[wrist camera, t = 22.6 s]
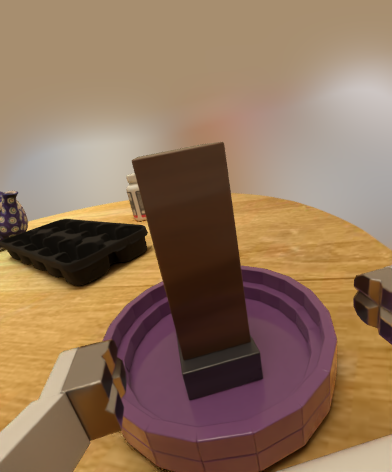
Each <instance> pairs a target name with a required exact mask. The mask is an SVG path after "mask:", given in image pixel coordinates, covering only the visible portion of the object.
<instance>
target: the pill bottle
mask: <svg viewBox="0 0 392 472" xmlns="http://www.w3.org/2000/svg"><path fill="white" fill-rule="evenodd" d="M127 181H128V183H129V186H128V187H127V194H128V197H129V201H130V204H131V208H132V212H133V215H134V219H135V220H137V221H143V220H147V218H146V214H145V211H144V207H143V203H142V199H141V195H140V191H139V187H138V184H137V180H136V176H135V173H134V174H130V175H127Z"/></svg>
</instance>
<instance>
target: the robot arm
mask: <svg viewBox="0 0 392 472" xmlns="http://www.w3.org/2000/svg"><path fill="white" fill-rule="evenodd" d="M354 287H355V288H356V289H357V290H358V291H357V293H356V295H355V296H354V308H355V311H356V313H357V315H358V316H359V317H360V319H361V320H362V321H363V322H365V323H366V324H367V325H369V326H372V327H375V328H378V332H379V335H381V336H382V337H383V338H384V339H385V340H387V341H388V342H389V343H390V344H392V265H391V266H387V267H384V268H382V269H379V270H375V271H371V272H367V273H364V274H360V275H356V277H355V279H354ZM117 353H118V347H117V345H116V343H115V341H114V340H113V339H111V340H106V341H102V342H98V343H94V344H90V345H85V346H81V347H78V348H74V349H70V350H66V351H63V352H62V353H60V354H59V356H58V358H57V361H56V363H55V365H54V367H53V369H52V371H51V373H50V376H49V378H48V380H47V382H46V384H45V386H44V388H43V391H42V393H41V395H40V397H39V399H38V400H36V401H33V402H31V403H30V404H29V405H28V406H27V407H26V408H25V409H24V410H23V411H22V412H21V413H20V414H19V415H18V416H17V417H16V418H15V419H14V420H13V421H12V422H10V423H9V424H8V425H7V426H6V427H5V428H4V429H3V430H2V431H1V432H0V472H73V471H74V469H75V468H76V466H77V464H78V463H79V461H80V459H81V458H82V456H83V454H84V453H85V451H86V449H87V448H88V446H89V444H90V441H91V440H94V439H97V438H100V437H103V436H106V435H109V434H113V433H116V432H119V431H122V423H123V414H124V405H123V402H122V400H121V399H122V398H123V396H124V395H125V393H126V387H127V379H126V371H125V366H124V363H123V361H122V360H121V359H120V358H118V357H117ZM277 472H392V434H391V435H388V436H385V437H382V438H378V439H375V440H372V441H369V442H366V443H363V444H360V445H357V446H354V447H351V448H348V449H344V450H341V451H338V452H335V453H332V454H329V455H326V456H323V457H320V458H317V459H314V460H311V461H307V462H304V463H301V464H298V465H295V466H292V467H289V468H286V469H283V470H280V471H277Z"/></svg>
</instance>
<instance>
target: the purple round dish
mask: <svg viewBox="0 0 392 472" xmlns="http://www.w3.org/2000/svg"><path fill="white" fill-rule="evenodd" d="M241 272H242V279H243V287H244V294H245V301H246V309H247V316H248V323H249V331H250V335H251V336H252V338H253V340H254V342H255V344H256V346H257V348H258V349H259V351H260V355H261V364H262V372H263V379H260V380H257V381H253V382H250V383H247V384H243V385H240V386H236V387H233V388H230V389H226V390H223V391H220V392H216V393H213V394H209V395H206V396H203V397H199V398H196V399H193V400H189V399H188V395H187V391H186V387H185V384H184V380H183V376H182V371H181V364H180V356H179V349H178V342H177V335H176V330H175V326H174V322H173V318H172V314H171V310H170V307H169V303H168V299H167V295H166V291H165V287H164V284H163V281H162V282H160V283H158V284H156V285H154V286H152V287H150V288H149V289H147V290H145V291H144V292H143V293H141V294H140V295H139V296H137V297H136V298H135V299H134V300H132V301H131V302H130V303H128V304H127V305H126V306H125V307H124V308H123V310H122V311H121V312H120V313H119V314H118V316H117V317H116V318H115V319H114V320H113V322H112V323H111V324H110V326H109V327H108V330H107V332H106V334H105V336H104V339H103V341H106V340H111V339H113V340H114V341H115V343H116V345H117V347H118V353H117V357H118V358H120V359H121V360H122V361H123V363H124V366H125V371H126V379H127V387H126V393H125V395H124V396H123V398H122V399H121V400H122V402H123V405H124V414H123V423H122V431H121V432H122V434H123V436H124V438H125V440H126V441H127V442H128V443H129V444H131V445H132V446H133V447H134V448H135V449H137V450H138V451H139V452H140V453H142V454H143V455H144V456H145V457H147V458H148V459H149V460H150V461H152V462H153V463H154V464H155V465H157V466H158V467H160V468H164V469H167V470H171V471H175V472H259V471H263V470H264V469H266V468H268V467H269V466H271V465H273V464H274V463H276V462H278V461H279V460H281V459H283V458H284V457H286V456H288V455H290V454H291V453H293V452H295V451H296V450H298V449H300V448H301V447H303V445H305V444H306V443H307V441H308V440H309V439H310V437H311V436H312V435H313V433H314V432H315V430H316V429H317V428H318V426H319V425H320V423H321V422H322V421H323V419H324V418H325V416H326V415H327V414H328V412H329V411H330V407H331V402H332V397H333V391H334V386H335V381H336V376H337V337H336V334H335V330H334V327H333V323H332V320H331V316H330V313H329V311H328V310H327V308H326V307H325V306H324V305H323V304H322V302H321V301H320V300H319V299H318V298H317V296H316V295H315V294H314V293H313V292H312V291H311V290H310V289H308V288H307V287H305V286H304V285H302V284H300V283H299V282H297V281H296V280H294V279H292V278H291V277H289V276H286V275H283V274H280V273H277V272H274V271H271V270H268V269H263V268H256V267H249V266H241Z"/></svg>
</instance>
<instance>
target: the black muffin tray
mask: <svg viewBox="0 0 392 472" xmlns="http://www.w3.org/2000/svg"><path fill="white" fill-rule="evenodd" d="M147 233H148V232H147V230H146V227H145V226H143V225H134V224H121V223H109V222H97V221H85V220H73V219H63V220H59V221H55V222H52V223H49V224H46V225H44V226H41V227H38V228H35V229H32V230H29V231H27V232H24V233H21V234H18V235H15V236H12V237H9V238H6V239H4V240H2V241H0V245H1V247H2V248H4V249H7V251H8V252H9V254H10V255H11V256H12V257H13V258H15V259H21V261H22V262H23V263H24V264H33V265H34V267H35V268H37V269H39V270H47V271H48V273H49V274H50V275H52V276H55V277H58V278H59V277H64V278H65V280H66V282H69V283H71V284H72V285H77V286H81V285H82V284H88V283H89V282H90V281H92V280H95V279H97V278H99V277H101V276H102V275H104V274H105V273H106V272H107V271H108V269H109V268H110V265H111V264H112V263H115V262H126V261H130V260H132V259H134V258H135V257H137V256H139V255H141V254H142V253H144V252H145V251H146V250H147V246H146V241H145V236H146V235H147Z"/></svg>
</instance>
